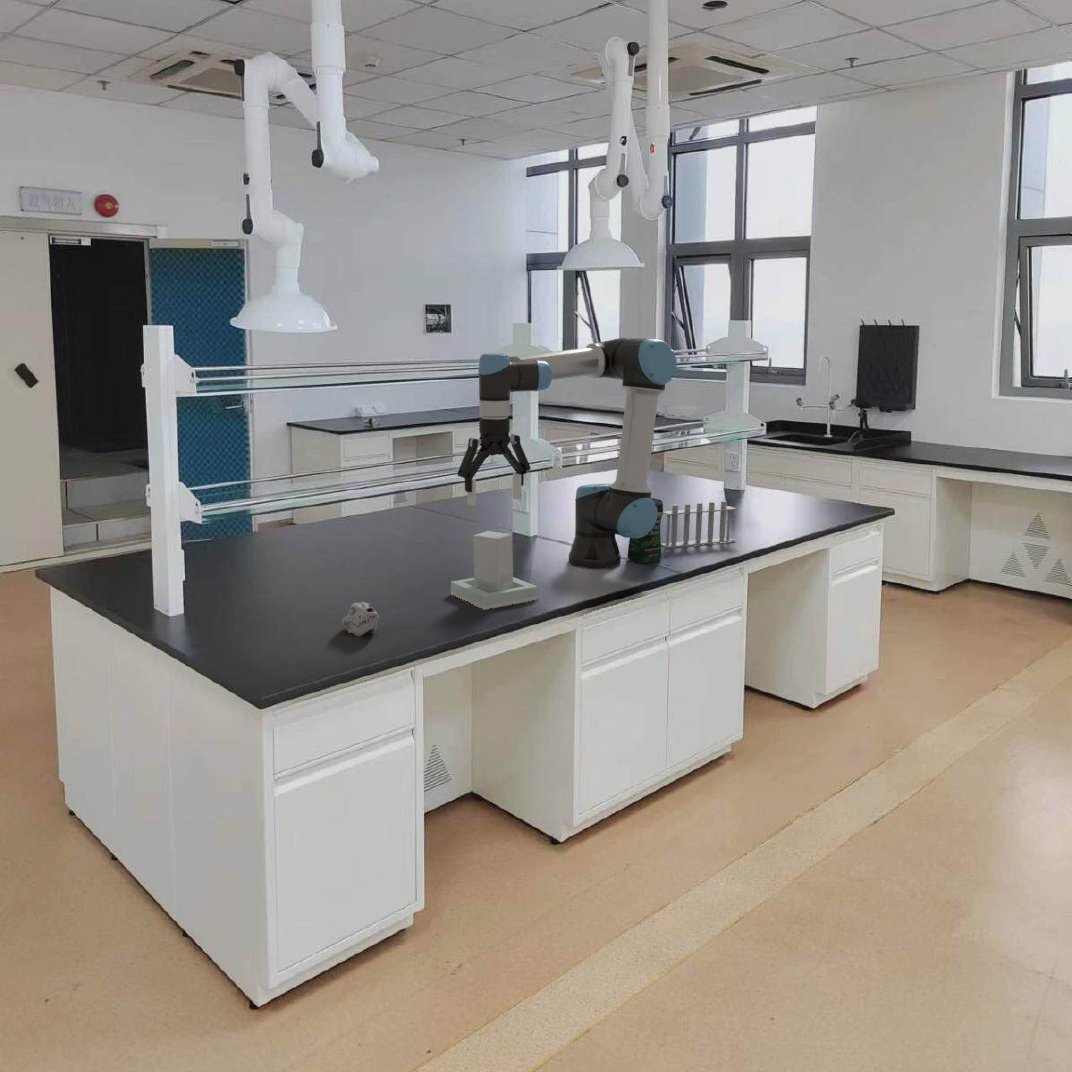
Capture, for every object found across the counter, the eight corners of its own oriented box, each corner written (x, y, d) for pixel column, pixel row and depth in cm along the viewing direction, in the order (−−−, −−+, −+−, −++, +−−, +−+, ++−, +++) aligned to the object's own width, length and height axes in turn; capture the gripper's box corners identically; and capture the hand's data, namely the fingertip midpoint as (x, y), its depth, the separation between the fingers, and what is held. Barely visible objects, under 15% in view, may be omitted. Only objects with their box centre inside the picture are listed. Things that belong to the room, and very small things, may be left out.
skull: (366, 611, 242) (382, 586, 233) (375, 645, 238) (391, 621, 229) (334, 614, 238) (349, 589, 229) (342, 648, 234) (358, 624, 225)
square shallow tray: (502, 585, 275) (502, 572, 274) (537, 599, 262) (537, 586, 261) (450, 594, 266) (450, 581, 265) (484, 609, 253) (484, 596, 252)
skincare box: (514, 593, 264) (514, 534, 260) (497, 599, 259) (497, 538, 255) (489, 588, 269) (489, 529, 265) (472, 593, 264) (472, 533, 260)
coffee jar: (639, 565, 297) (642, 502, 293) (623, 559, 304) (625, 497, 300) (666, 561, 302) (668, 499, 298) (649, 555, 309) (651, 494, 305)
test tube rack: (727, 539, 332) (729, 499, 329) (735, 542, 328) (737, 501, 325) (659, 546, 322) (661, 504, 319) (667, 549, 318) (668, 507, 315)
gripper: (527, 412, 264) (526, 494, 269) (442, 418, 250) (444, 504, 255) (544, 415, 258) (543, 499, 263) (459, 421, 244) (459, 509, 249)
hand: (494, 502), depth 259 cm, fingers open, 13 cm apart
